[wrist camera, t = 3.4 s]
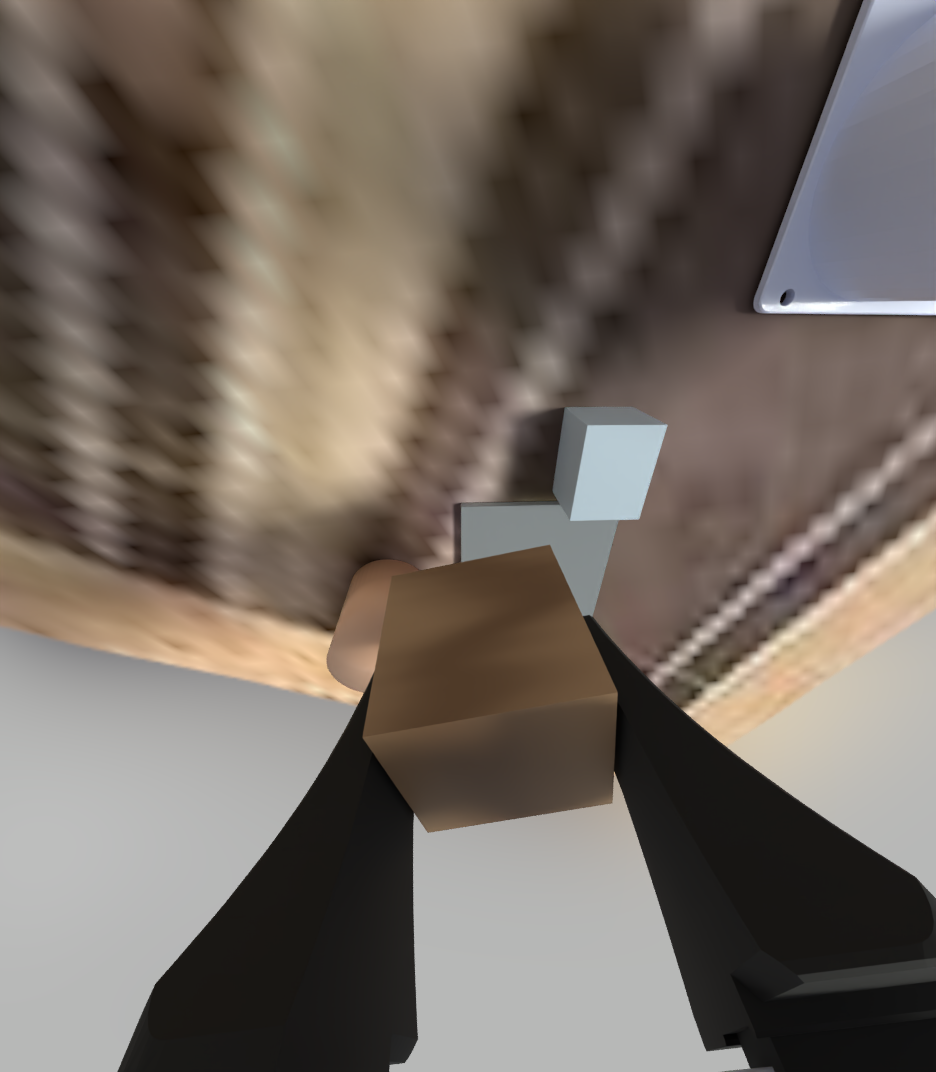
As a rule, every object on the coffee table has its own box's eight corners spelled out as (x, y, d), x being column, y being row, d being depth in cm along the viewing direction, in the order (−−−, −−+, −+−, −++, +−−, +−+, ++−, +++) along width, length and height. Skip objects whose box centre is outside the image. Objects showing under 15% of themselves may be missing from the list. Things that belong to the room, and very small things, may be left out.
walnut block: (549, 544, 11) (618, 692, 7) (559, 650, 14) (612, 803, 9) (391, 576, 11) (362, 737, 7) (431, 674, 14) (428, 832, 10)
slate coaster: (619, 499, 18) (623, 503, 18) (589, 614, 22) (591, 619, 22) (460, 503, 18) (461, 507, 17) (461, 619, 22) (461, 624, 22)
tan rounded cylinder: (427, 558, 19) (423, 628, 15) (431, 616, 22) (428, 691, 17) (344, 560, 19) (316, 632, 15) (357, 619, 21) (336, 696, 17)
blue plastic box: (631, 406, 16) (667, 424, 13) (611, 489, 18) (638, 519, 15) (563, 406, 16) (587, 425, 13) (551, 490, 18) (569, 520, 15)
